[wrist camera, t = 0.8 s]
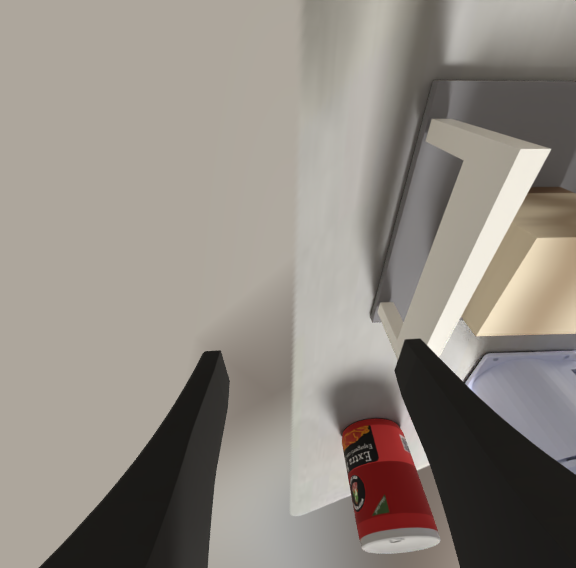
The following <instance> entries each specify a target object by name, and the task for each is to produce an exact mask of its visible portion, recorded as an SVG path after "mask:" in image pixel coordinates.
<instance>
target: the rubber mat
mask: <svg viewBox="0 0 576 568" xmlns="http://www.w3.org/2000/svg"><path fill="white" fill-rule="evenodd" d="M432 119H454V120H457V121H461V122H464V123H467V124H471V125H474V126H477V127H481V128H484V129H487V130H491V131H494V132H497V133H500V134H504V135H507V136H510V137H514V138H517V139H520V140H524V141H527V142H530V143H534V144H537V145H540V146H543V147H547V148H550V149H551V151H550V153H549V154H548V156H547V158H546V160H545V162H544V164H543V166H542V167H541V169H540V171H539V173H538V175H537V177H536V179H535V180H534V182H533V184H532V186H531V187H562V188H564V189H566V190H569V191H571V192H573V193H576V81H505V80H433V82H432V86H431V90H430V93H429V97H428V101H427V105H426V109H425V112H424V116H423V120H422V124H421V128H420V131H419V135H418V139H417V143H416V146H415V150H414V154H413V158H412V162H411V165H410V169H409V173H408V177H407V181H406V184H405V188H404V192H403V196H402V200H401V203H400V207H399V211H398V215H397V219H396V222H395V226H394V230H393V234H392V238H391V241H390V245H389V249H388V253H387V257H386V260H385V264H384V268H383V272H382V276H381V279H380V283H379V287H378V291H377V295H376V298H375V302H374V306H373V310H372V314H371V320H372V323H375V322H381V319H380V317H379V315H378V309H379V305H380V303H381V302H393V303H394V305H395V307H396V308H397V310H398V312H399V314H400V316H401V318H402V320H403V322H404V320H405V317H406V315H407V312H408V309H409V307H410V304H411V301H412V299H413V296H414V293H415V290H416V288H417V285H418V282H419V280H420V277H421V274H422V272H423V269H424V266H425V263H426V261H427V258H428V255H429V253H430V250H431V247H432V245H433V242H434V239H435V237H436V234H437V231H438V228H439V226H440V223H441V220H442V218H443V215H444V212H445V210H446V207H447V204H448V201H449V199H450V196H451V193H452V191H453V188H454V185H455V183H456V180H457V177H458V174H459V172H460V169H461V166H462V164H463V161H464V160H462V159H460V158H458V157H456V156H454V155H452V154H450V153H448V152H446V151H444V150H442V149H440V148H438V147H436V146H434V145H432V144H430V143H428V142H426V137H427V134H428V130H429V127H430V123H431V120H432ZM459 320H463V318H462V317H461V318H460V319H459Z"/></svg>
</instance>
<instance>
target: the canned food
mask: <svg viewBox="0 0 576 568" xmlns="http://www.w3.org/2000/svg"><path fill="white" fill-rule="evenodd" d="M342 445H343V451H344V457H345V462H346V468H347V473H348V479H349V485H350V490H351V496H352V502H353V507H354V513H355V518H356V524H357V529H358V534H359V539H360V543H361V547H362V549H363V550H364V551H366V552H370V553H380V554H381V553H382V554H386V553H387V554H388V553H404V552H411V551H417V550H422V549H426V548H430V547H432V546H435V545H437V544H438V543H439V542H440V537H439V533H438V530H437V527H436V524H435V521H434V518H433V515H432V512H431V510H430V507H429V504H428V501H427V498H426V495H425V493H424V490H423V487H422V484H421V481H420V479H419V476H418V473H417V470H416V467H415V465H414V462H413V459H412V456H411V453H410V451H409V448H408V445H407V442H406V439H405V437H404V434H403V432H402V430H401V429H400V427H399V426H398V425H397V424H396V423H395V422H393V421H391V420H387V419H378V418H375V419H366V420H361V421H358V422H355V423H353V424H351V425H350V426H348V427H347V428H346V429H345V430H344V432H343V435H342Z"/></svg>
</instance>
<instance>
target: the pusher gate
mask: <svg viewBox="0 0 576 568" xmlns="http://www.w3.org/2000/svg"><path fill="white" fill-rule="evenodd" d="M426 142H428V143H430V144H432V145H434V146H436V147H438V148H440V149H442V150H444V151H446V152H448V153H450V154H452V155H454V156H456V157H458V158H460V159H462V160H464V161H463V164H462V166H461V169H460V172H459V174H458V177H457V180H456V183H455V185H454V188H453V191H452V193H451V196H450V199H449V201H448V204H447V207H446V210H445V212H444V215H443V218H442V220H441V223H440V226H439V228H438V231H437V234H436V237H435V239H434V242H433V245H432V247H431V250H430V253H429V255H428V258H427V261H426V263H425V266H424V269H423V272H422V274H421V277H420V280H419V282H418V285H417V288H416V290H415V293H414V296H413V299H412V301H411V304H410V307H409V309H408V312H407V315H406V317H405V320H404V322H403V320H402V318H401V316H400V314H399V312H398V310H397V308H396V307H395V305H394V303H393V302H381V303H380V305H379V309H378V315H379V317H380V319H381V322H382V324H383V326H384V329H385V331H386V334H387V336H388V338H389V341H390V343H391V345H392V348H393V350H394V352H395V355H396V357H397V360H398V359H399V356H400V353H401V349H402V346H403V343H404V340H405V339H419V338H420V339H421V340H423V342H424V343H425V344H426V345H427V346H428V347H429V348H430V349H431V350H432V351H433V352H434V353H435V354H436V355H437V356H438V357H439V356H440V355H441V353H442V351H443V349H444V347H445V345H446V343H447V342H448V340H449V338H450V336H451V334H452V332H453V330H454V329H455V327H456V325H457V323H458V321H459V319H460V318H461V316H462V314H463V312H464V310H465V308H466V306H467V305H468V303H469V301H470V299H471V297H472V295H473V293H474V292H475V290H476V288H477V286H478V284H479V282H480V280H481V279H482V277H483V275H484V273H485V271H486V269H487V267H488V266H489V264H490V262H491V260H492V258H493V256H494V255H495V253H496V251H497V249H498V247H499V245H500V243H501V242H502V240H503V238H504V236H505V234H506V232H507V230H508V229H509V227H510V225H511V223H512V221H513V219H514V217H515V216H516V214H517V212H518V210H519V208H520V206H521V204H522V203H523V201H524V199H525V197H526V195H527V193H528V191H529V190H530V188H531V186H532V184H533V182H534V180H535V179H536V177H537V175H538V173H539V171H540V169H541V167H542V166H543V164H544V162H545V160H546V158H547V156H548V154H549V153H550V151H551V149H550V148H547V147H543V146H540V145H537V144H534V143H530V142H527V141H524V140H520V139H517V138H514V137H510V136H507V135H504V134H500V133H497V132H494V131H491V130H487V129H484V128H481V127H477V126H474V125H471V124H467V123H464V122H461V121H457V120H454V119H432V120H431V123H430V127H429V130H428V134H427V137H426Z"/></svg>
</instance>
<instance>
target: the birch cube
mask: <svg viewBox="0 0 576 568" xmlns="http://www.w3.org/2000/svg"><path fill="white" fill-rule="evenodd" d="M461 317H462V318H463V320H464V321H465V322H466V324H467V325H468V327H469V328H470V329H471V331H472V332H473V333H474V335H475V336H506V335H543V334H576V193H573V192H571V191H569V190H566V189H564V188H562V187H531V188H530V190H529V191H528V193H527V195H526V197H525V199H524V201H523V203H522V204H521V206H520V208H519V210H518V212H517V214H516V216H515V217H514V219H513V221H512V223H511V225H510V227H509V229H508V230H507V232H506V234H505V236H504V238H503V240H502V242H501V243H500V245H499V247H498V249H497V251H496V253H495V255H494V256H493V258H492V260H491V262H490V264H489V266H488V267H487V269H486V271H485V273H484V275H483V277H482V279H481V280H480V282H479V284H478V286H477V288H476V290H475V292H474V293H473V295H472V297H471V299H470V301H469V303H468V305H467V306H466V308H465V310H464V312H463V314H462V316H461Z"/></svg>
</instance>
